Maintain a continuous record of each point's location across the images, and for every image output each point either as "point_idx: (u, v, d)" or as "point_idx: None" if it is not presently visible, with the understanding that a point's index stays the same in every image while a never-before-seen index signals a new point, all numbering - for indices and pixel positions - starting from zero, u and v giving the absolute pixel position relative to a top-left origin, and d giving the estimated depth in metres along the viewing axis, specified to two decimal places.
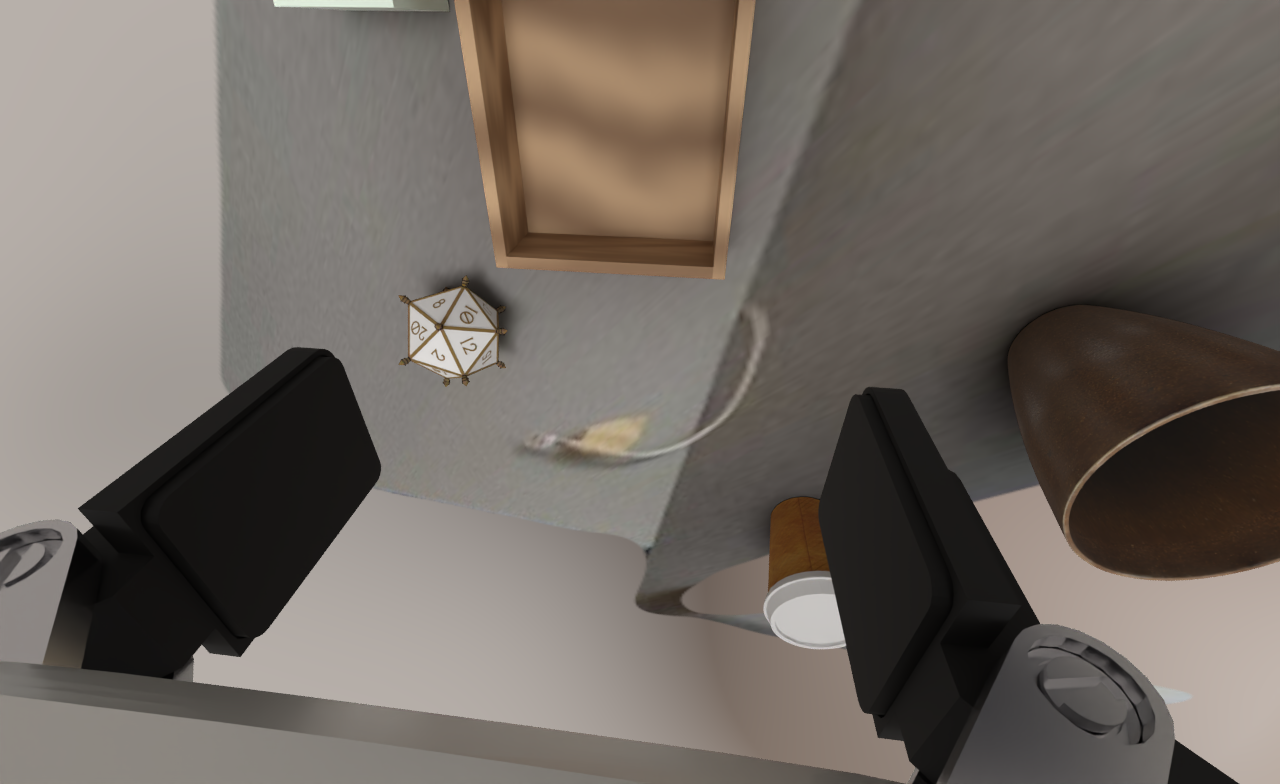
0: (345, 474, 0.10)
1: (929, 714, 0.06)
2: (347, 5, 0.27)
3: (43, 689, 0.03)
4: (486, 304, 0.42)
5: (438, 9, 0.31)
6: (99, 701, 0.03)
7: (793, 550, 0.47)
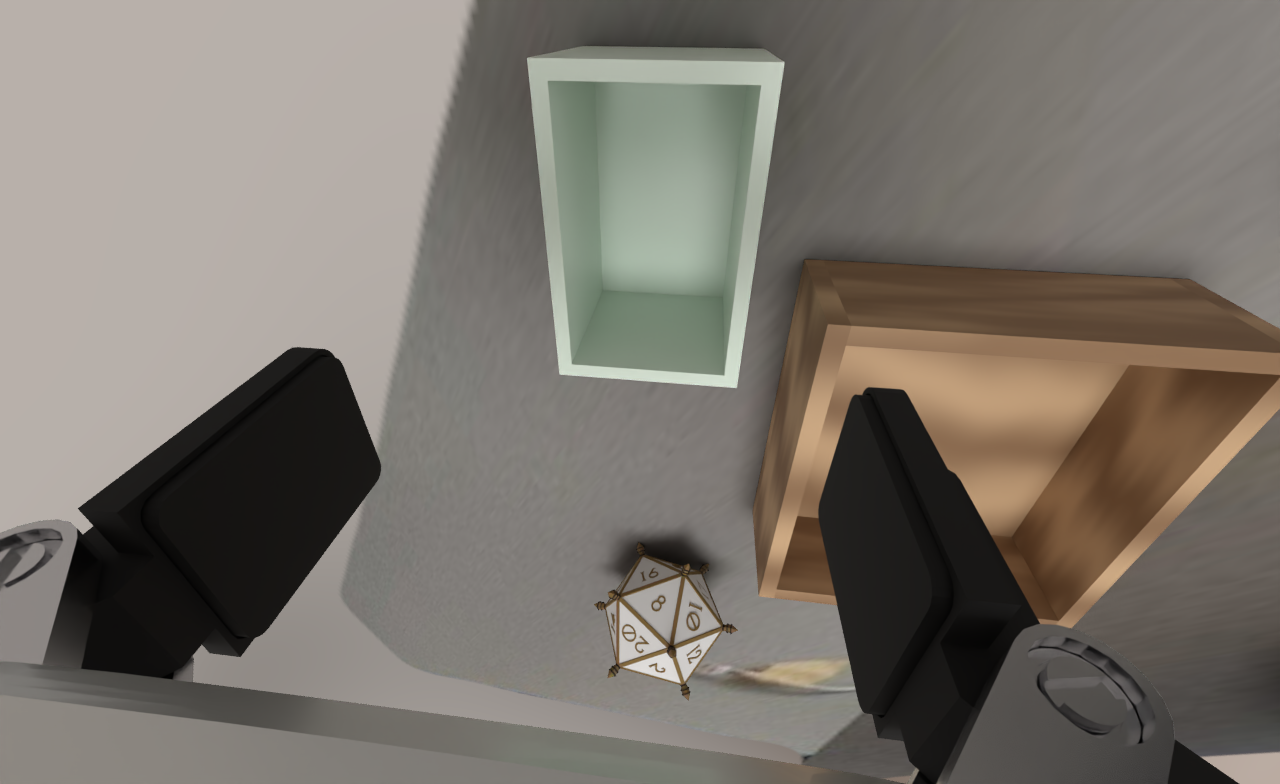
0: (345, 474, 0.10)
1: (929, 714, 0.06)
2: (667, 381, 0.19)
3: (43, 689, 0.03)
4: (697, 577, 0.34)
5: None
6: (100, 701, 0.03)
7: None
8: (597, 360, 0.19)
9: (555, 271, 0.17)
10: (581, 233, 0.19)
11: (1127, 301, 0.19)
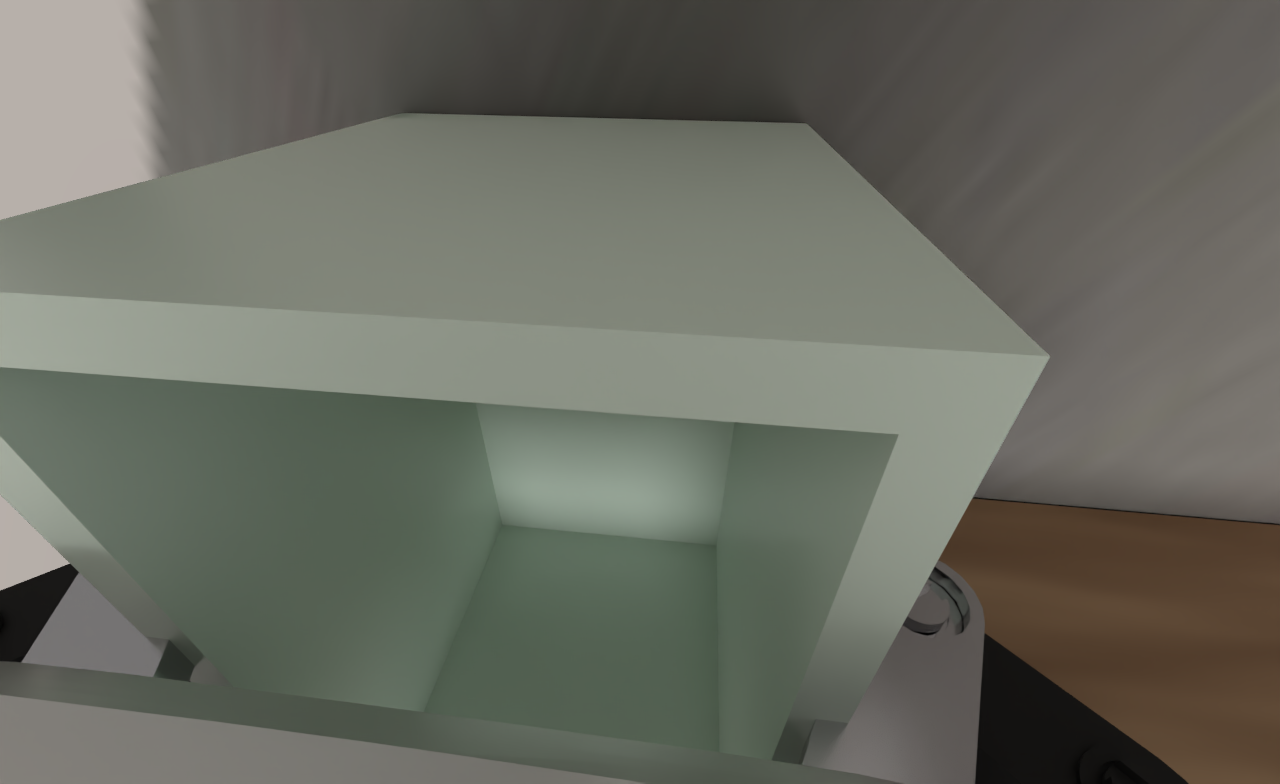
0: None
1: None
2: None
3: (43, 689, 0.03)
4: None
5: None
6: (97, 702, 0.03)
7: None
8: None
9: None
10: (392, 539, 0.08)
11: None
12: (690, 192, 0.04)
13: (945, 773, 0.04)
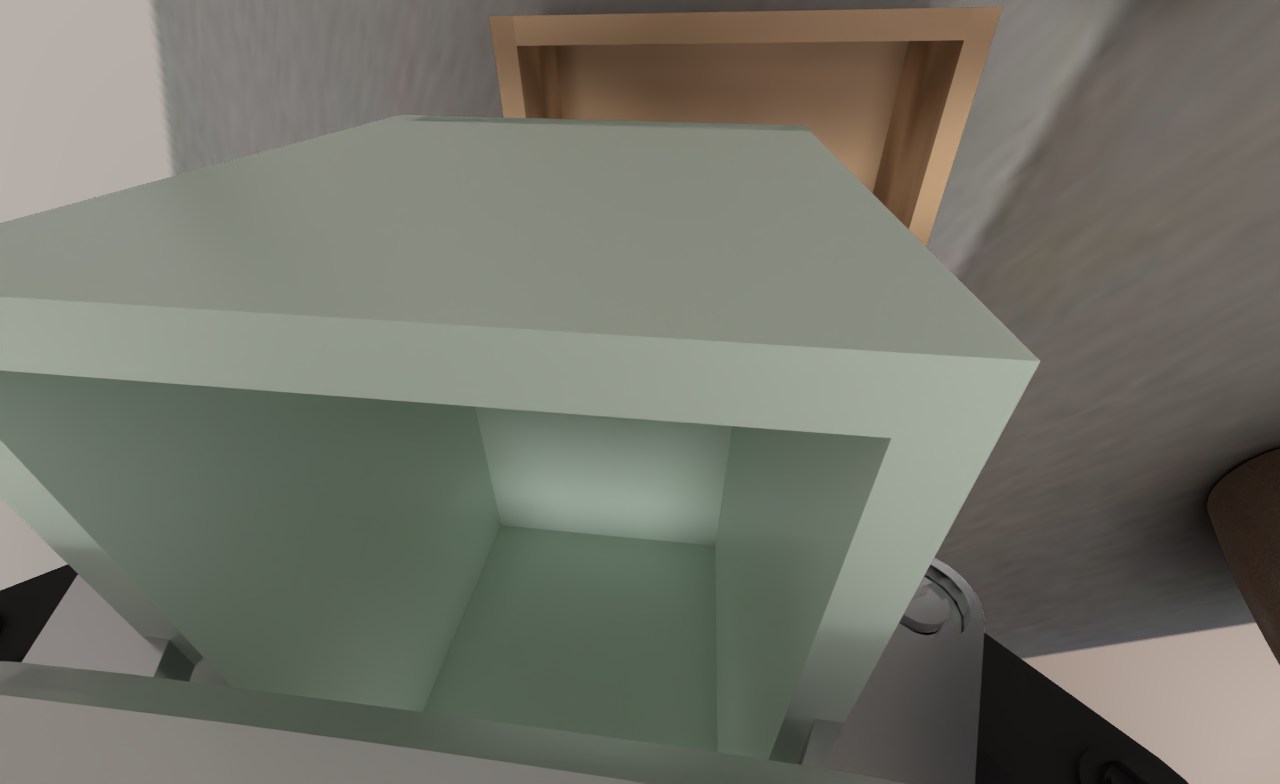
0: None
1: None
2: None
3: (42, 689, 0.03)
4: None
5: None
6: (97, 702, 0.03)
7: None
8: None
9: None
10: (390, 539, 0.08)
11: None
12: (686, 195, 0.05)
13: (944, 773, 0.04)
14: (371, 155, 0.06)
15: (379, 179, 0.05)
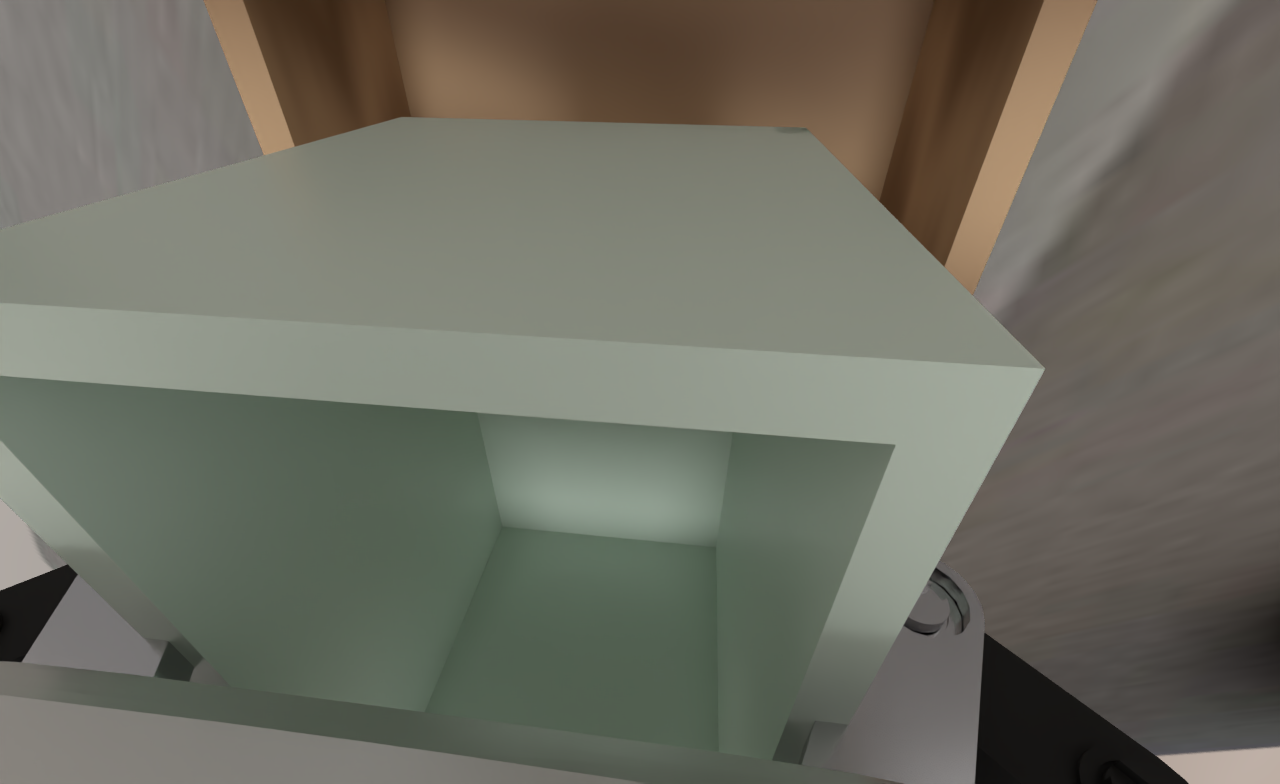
0: None
1: None
2: None
3: (43, 689, 0.03)
4: None
5: None
6: (99, 701, 0.03)
7: None
8: None
9: None
10: (392, 541, 0.08)
11: None
12: (689, 199, 0.05)
13: (945, 773, 0.04)
14: (373, 158, 0.06)
15: (382, 183, 0.05)
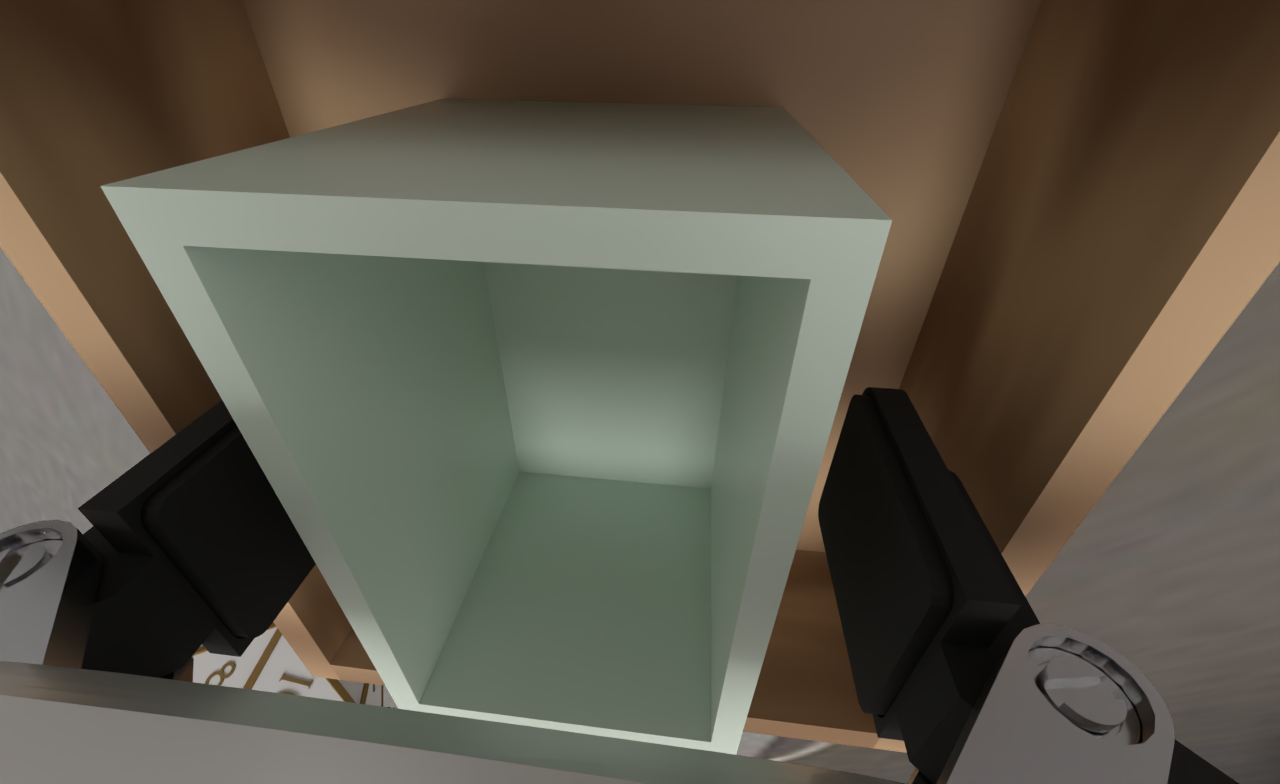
0: None
1: (930, 714, 0.06)
2: None
3: (43, 689, 0.03)
4: None
5: None
6: (100, 701, 0.03)
7: None
8: (470, 688, 0.10)
9: (343, 592, 0.08)
10: (436, 455, 0.10)
11: None
12: (684, 148, 0.06)
13: None
14: (437, 124, 0.07)
15: (452, 138, 0.06)
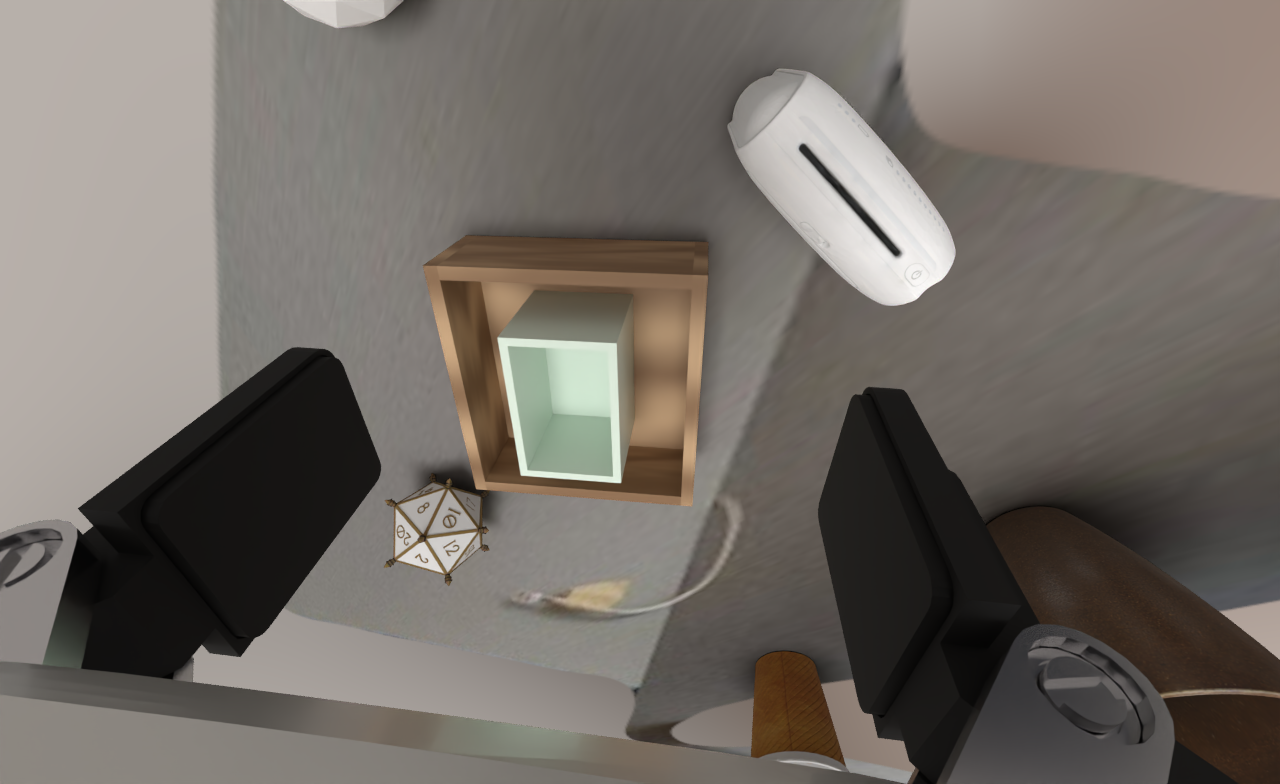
0: (345, 474, 0.10)
1: (930, 714, 0.06)
2: (582, 479, 0.33)
3: (43, 689, 0.03)
4: (470, 496, 0.43)
5: (631, 432, 0.37)
6: (99, 701, 0.03)
7: (774, 720, 0.48)
8: (542, 467, 0.33)
9: (515, 424, 0.31)
10: (532, 395, 0.33)
11: (640, 252, 0.30)
12: (594, 321, 0.30)
13: None
14: (540, 310, 0.31)
15: (546, 318, 0.30)
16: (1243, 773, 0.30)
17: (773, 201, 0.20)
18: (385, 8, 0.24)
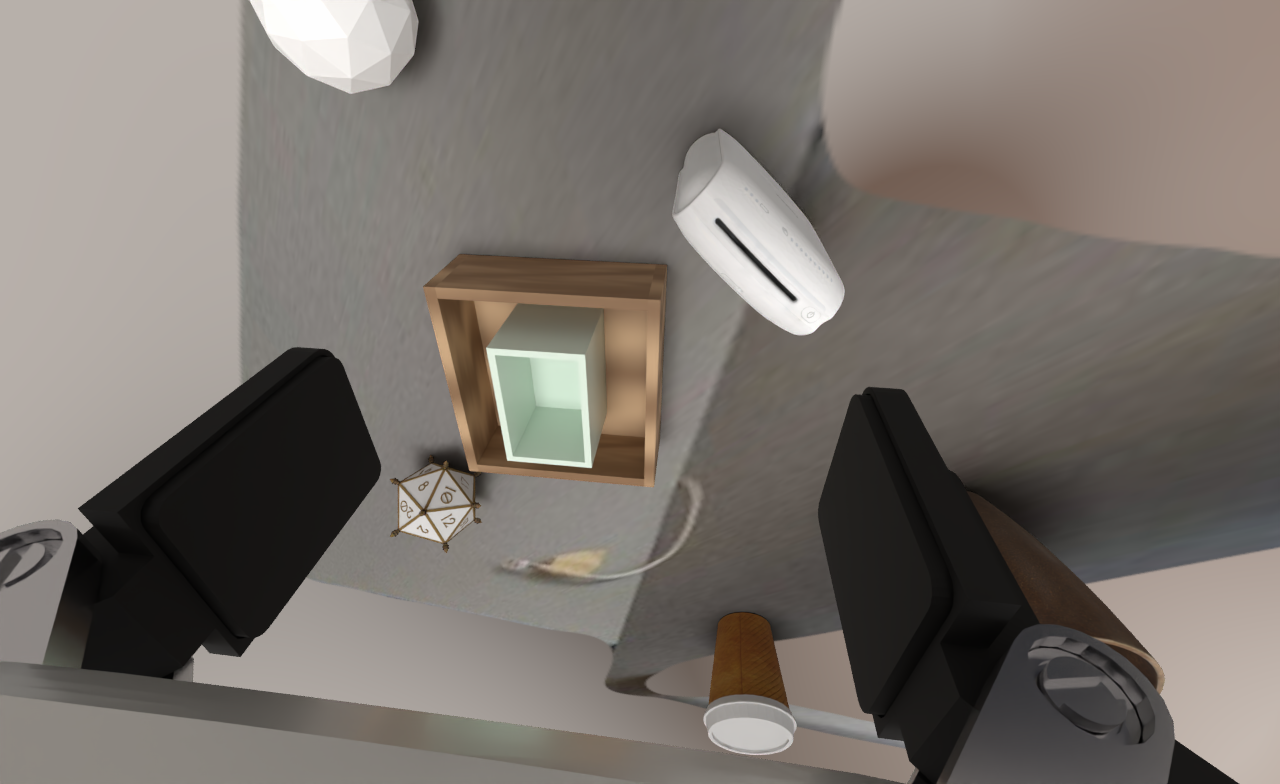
0: (345, 474, 0.10)
1: (929, 714, 0.06)
2: (559, 464, 0.39)
3: (43, 689, 0.03)
4: (464, 475, 0.50)
5: (603, 423, 0.43)
6: (97, 702, 0.03)
7: (729, 669, 0.55)
8: (525, 453, 0.39)
9: (502, 418, 0.37)
10: (517, 393, 0.39)
11: (607, 275, 0.35)
12: (568, 333, 0.35)
13: None
14: (522, 322, 0.37)
15: (527, 330, 0.36)
16: None
17: (700, 255, 0.25)
18: (391, 78, 0.29)
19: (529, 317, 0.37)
